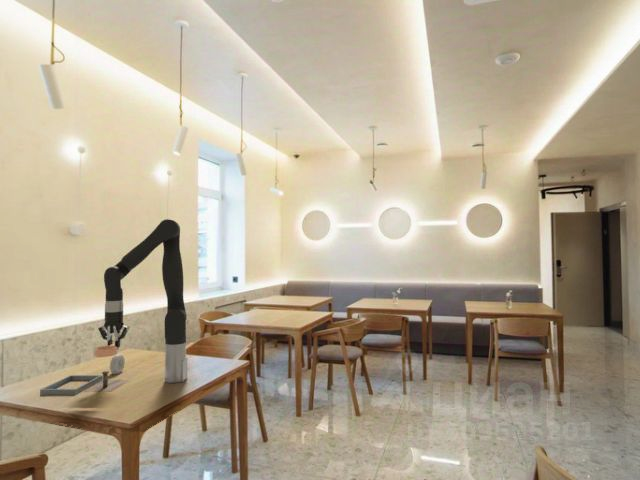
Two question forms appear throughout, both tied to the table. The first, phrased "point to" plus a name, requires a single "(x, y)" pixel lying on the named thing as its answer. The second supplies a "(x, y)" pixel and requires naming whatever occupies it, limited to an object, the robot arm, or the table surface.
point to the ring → (105, 351)
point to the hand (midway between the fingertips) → (113, 348)
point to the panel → (106, 384)
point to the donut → (117, 364)
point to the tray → (53, 387)
